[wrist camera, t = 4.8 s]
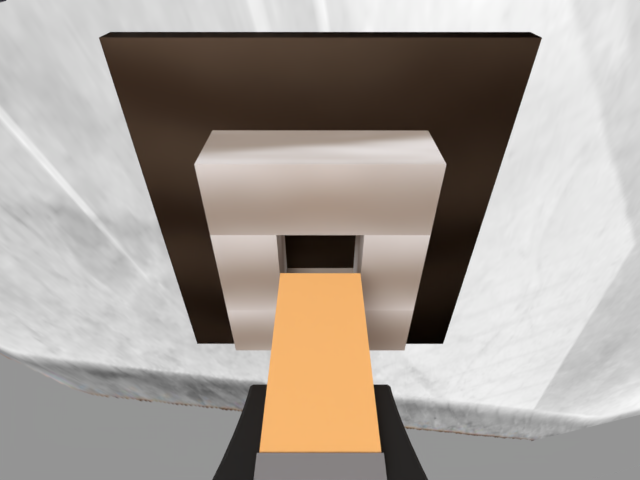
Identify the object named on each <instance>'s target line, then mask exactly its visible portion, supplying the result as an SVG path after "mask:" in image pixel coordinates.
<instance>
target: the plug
mask: <svg viewBox="0 0 640 480" xmlns="http://www.w3.org/2000/svg"><path fill="white" fill-rule="evenodd" d="M254 480H387V475H386V467H385V459H384V453H381V445H380V436H379V428H378V419H377V411H376V402H375V394H374V385H373V377H372V368H371V360H370V351H369V342H368V334H367V325H366V317H365V308H364V300H363V291H362V283H361V274H360V273H280V279H279V288H278V296H277V305H276V314H275V322H274V331H273V339H272V348H271V356H270V365H269V373H268V382H267V391H266V399H265V408H264V416H263V425H262V433H261V442H260V450H259V453H257V456H256V464H255V472H254Z"/></svg>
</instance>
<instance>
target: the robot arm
mask: <svg viewBox="0 0 640 480" xmlns="http://www.w3.org/2000/svg"><path fill="white" fill-rule="evenodd" d="M4 1H6V0H0V2H4ZM373 385H374V394H375V402H376V411H377V419H378V428H379V436H380V445H381V453H384V459H385V467H386V475H387V480H428V478H427V476H426V474H425V472H424V470H423V468H422V466H421V464H420V461H419V459H418V457H417V455H416V453H415V451H414V448H413V446H412V444H411V442H410V439H409V437H408V435H407V432H406V430H405V427H404V425H403V422H402V420H401V417H400V414H399V412H398V409H397V406H396V403H395V400H394V397H393V394H392V390H391V387H390V386H389V385H388V384H373ZM266 391H267V384H253V385H252V386H250V388H249V392H248V395H247V398H246V401H245V404H244V407H243V410H242V413H241V416H240V418H239V421H238V423H237V426H236V428H235V431H234V433H233V436H232V438H231V440H230V443H229V445H228V447H227V449H226V452H225V454H224V456H223V458H222V461H221V463H220V465H219V467H218V469H217V471H216V473H215V475H214V477H213V479H212V480H254V472H255V464H256V456H257V453H259V450H260V442H261V433H262V425H263V416H264V408H265V399H266Z"/></svg>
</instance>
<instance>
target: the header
mask: <svg viewBox="0 0 640 480" xmlns="http://www.w3.org/2000/svg"><path fill="white" fill-rule="evenodd" d="M99 40H100V43H101V46H102V49H103V52H104V55H105V58H106V62H107V65H108V68H109V71H110V74H111V77H112V80H113V83H114V86H115V90H116V93H117V96H118V99H119V102H120V105H121V108H122V111H123V114H124V118H125V121H126V124H127V127H128V130H129V133H130V136H131V139H132V142H133V145H134V149H135V152H136V155H137V158H138V161H139V164H140V167H141V170H142V173H143V177H144V180H145V183H146V186H147V189H148V192H149V195H150V198H151V201H152V205H153V208H154V211H155V214H156V217H157V220H158V223H159V226H160V229H161V233H162V236H163V239H164V242H165V245H166V248H167V251H168V254H169V257H170V261H171V264H172V267H173V270H174V273H175V276H176V279H177V282H178V285H179V289H180V292H181V295H182V298H183V301H184V304H185V307H186V310H187V313H188V316H189V320H190V323H191V326H192V329H193V332H194V335H195V338H196V341H197V344H235V348H236V350H271V348H272V339H273V331H274V322H275V314H276V305H277V296H278V288H279V279H280V273H360V274H361V283H362V291H363V300H364V308H365V317H366V325H367V334H368V342H369V350H405V346H406V344H443V343H444V340H445V337H446V333H447V330H448V327H449V324H450V321H451V318H452V315H453V312H454V309H455V306H456V303H457V299H458V296H459V293H460V290H461V287H462V284H463V281H464V278H465V275H466V272H467V269H468V265H469V262H470V259H471V256H472V253H473V250H474V247H475V244H476V241H477V238H478V234H479V231H480V228H481V225H482V222H483V219H484V216H485V213H486V210H487V207H488V204H489V200H490V197H491V194H492V191H493V188H494V185H495V182H496V179H497V176H498V173H499V170H500V166H501V163H502V160H503V157H504V154H505V151H506V148H507V145H508V142H509V139H510V135H511V132H512V129H513V126H514V123H515V120H516V117H517V114H518V111H519V108H520V105H521V101H522V98H523V95H524V92H525V89H526V86H527V83H528V80H529V77H530V74H531V70H532V67H533V64H534V61H535V58H536V55H537V52H538V49H539V46H540V43H541V40H542V37H540V36H538V35H536V34H534V33H531V32H109V33H107V34H105V35H103V36H101V37H99Z"/></svg>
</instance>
